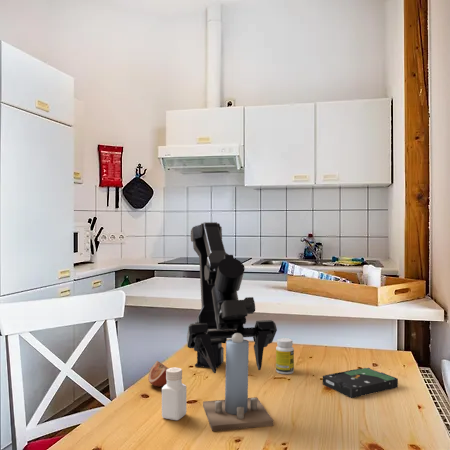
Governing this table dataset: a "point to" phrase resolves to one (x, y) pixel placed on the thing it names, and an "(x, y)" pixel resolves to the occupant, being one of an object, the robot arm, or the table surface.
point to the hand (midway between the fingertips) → (237, 370)
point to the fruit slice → (158, 374)
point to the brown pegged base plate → (226, 421)
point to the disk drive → (360, 382)
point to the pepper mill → (236, 374)
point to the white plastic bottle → (174, 395)
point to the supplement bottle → (284, 356)
